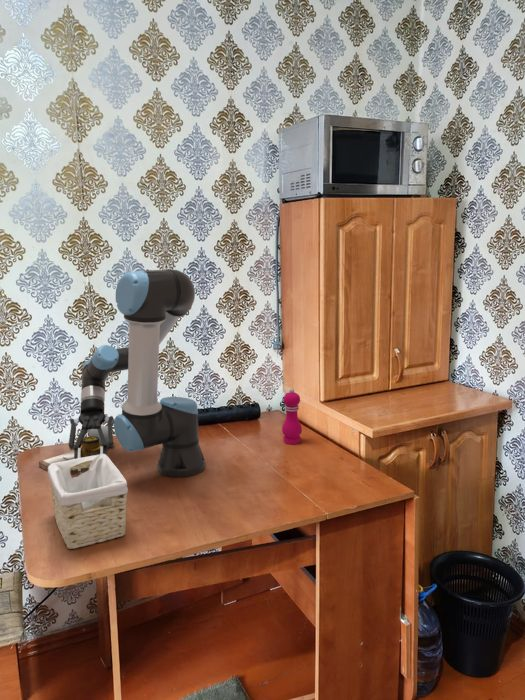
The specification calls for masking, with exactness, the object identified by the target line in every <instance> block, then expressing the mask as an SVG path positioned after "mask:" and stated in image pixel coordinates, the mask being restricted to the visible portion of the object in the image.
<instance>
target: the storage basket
mask: <svg viewBox="0 0 525 700" xmlns="http://www.w3.org/2000/svg"><path fill="white" fill-rule="evenodd" d="M82 468H89V470H88V471H86V472H84V473H82V474H81V475H80V474H79V475H77V476H75V477H72V475H71V473H70V470H75V469H82ZM47 476H48V479H49V481H50V487H51V490H50V493H51V495H52V496H51V499H52V503H53V511H54V512H53V513H54V517H55V521H56V522H55V523H56V526H57V529H58V530H59V532H60V534H61V536H62V537H61V538H62V539H63V542H64V543H65V545H66V547H65V548H67V549H69V550H70V549H71V550H72V549H78V548H83V547H87V546H90V545H95V544H96V543H103V542H106V541H108V540H109V541H110V540H111V541H112V540H114V539H116V538H120V537H124V536H125V534H126V526H127V523H126V522H127V518H126V517H127V515H126V514H127V500H128V499H127V497H128V493H129V489H128V482H127V480H126V477H124V475H123V474H122V473H121V471H120V469H118V468H117V466H116V465H115V463H114V462H113V461H112V460H111V458H110V457H109V456H108V454H107V455H106V454H99V455H94V456H88V457H83V458H77V459H72V460H67V461H62V462H57V463H52V464H50V465H49V466H48V471H47Z"/></svg>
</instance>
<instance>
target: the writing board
mask: <svg viewBox="0 0 525 700" xmlns="http://www.w3.org/2000/svg"><path fill="white" fill-rule="evenodd" d="M72 459H75V458H74V450H71V451H69V452H66V453H63V454H59V455H57V456H53V457H50V458H45V459H42V460H40V461H38V468H40V467H41V469H42V470H44V471H46V472H48V466H49V465H50V464H52V463H57V462H62V461H67V460H72ZM79 472H83V470H82V469H81V471H78V469H75V470H70V473H71V476H72V475H74V474H77V473H78V474H79Z"/></svg>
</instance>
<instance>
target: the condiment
mask: <svg viewBox="0 0 525 700" xmlns="http://www.w3.org/2000/svg"><path fill="white" fill-rule="evenodd" d="M99 444H100V443H99V438H98V437H96V436H89V435H88V436H85V437H84V438H83V439H82V445H81V447H80V448H81V456H82V458H83V457H88V456H94V455H99V454H100V445H99ZM82 470H83V471H80V472H78V474H79V475H81V474H82V473H84V472H86V471H88V470H89V468H82Z"/></svg>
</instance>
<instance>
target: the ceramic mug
mask: <svg viewBox="0 0 525 700" xmlns="http://www.w3.org/2000/svg"><path fill="white" fill-rule="evenodd" d="M101 429H102V432H103V434H104V437H105V440H106V443H107V442H109V437H108V425H104V426H102V425H101ZM89 436H96V437H98V438H99V443H100V444H99V445H100V446H103V444H102V442H101V439H100V436H99V433H98V430H97V429H90V430H88V437H89Z"/></svg>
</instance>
